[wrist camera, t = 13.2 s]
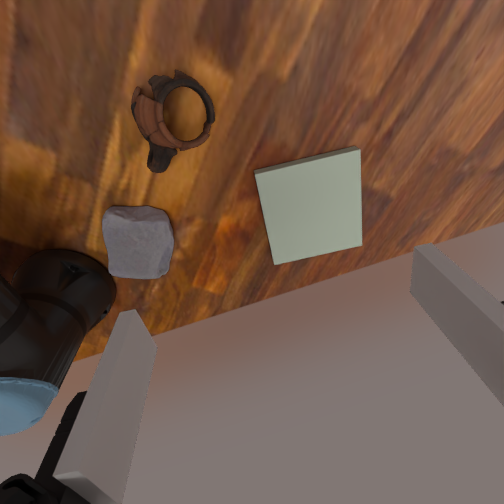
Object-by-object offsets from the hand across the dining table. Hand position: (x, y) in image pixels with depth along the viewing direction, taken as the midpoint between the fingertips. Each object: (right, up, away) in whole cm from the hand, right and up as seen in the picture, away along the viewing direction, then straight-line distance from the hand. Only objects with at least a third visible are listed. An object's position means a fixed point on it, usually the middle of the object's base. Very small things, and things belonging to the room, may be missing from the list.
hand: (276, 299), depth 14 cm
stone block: (-14, +4, +34) cm, 37 cm away
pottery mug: (-14, +20, +26) cm, 36 cm away
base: (+8, +9, +34) cm, 36 cm away
